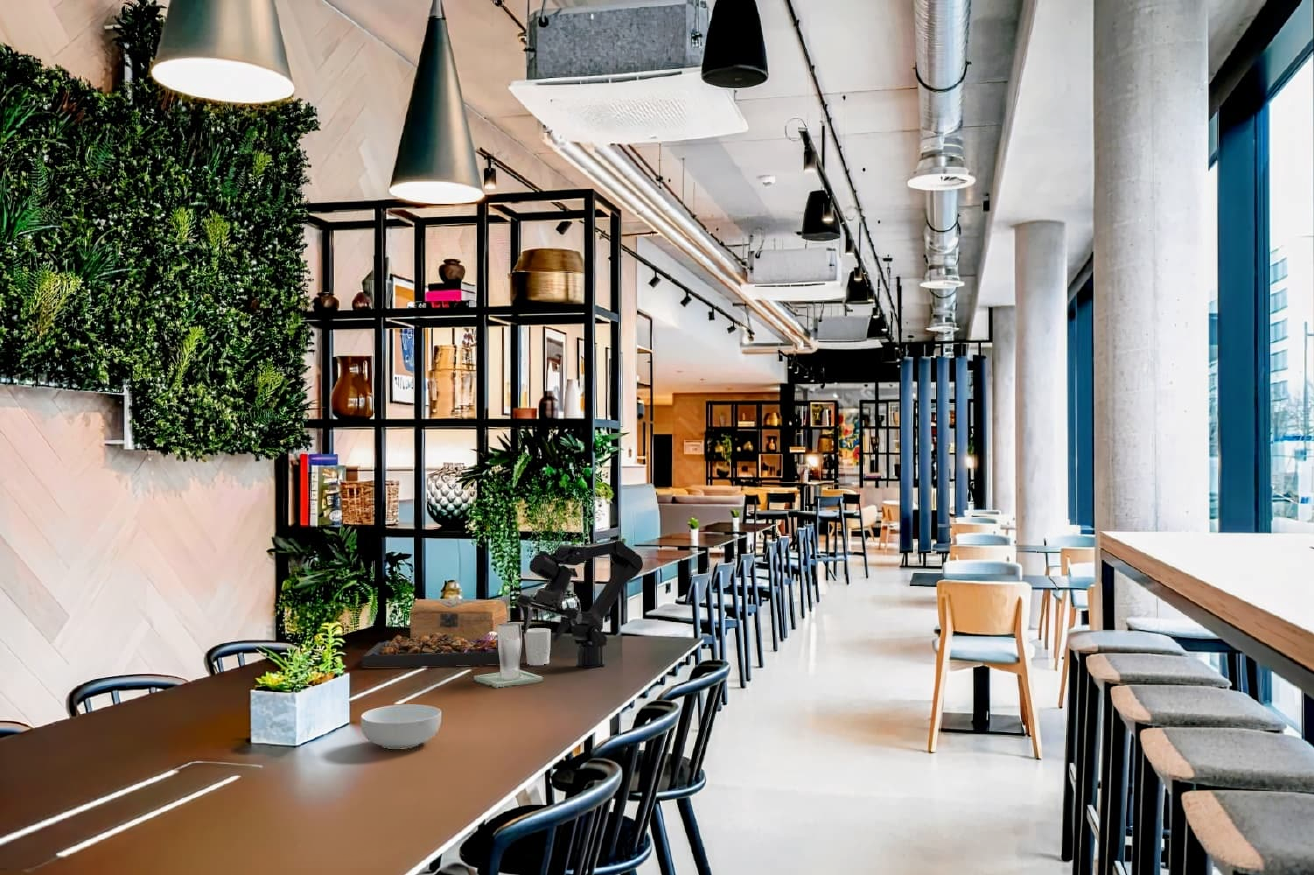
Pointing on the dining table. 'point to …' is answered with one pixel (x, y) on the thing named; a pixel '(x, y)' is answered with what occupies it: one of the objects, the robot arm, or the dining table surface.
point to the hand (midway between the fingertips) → (539, 637)
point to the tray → (496, 682)
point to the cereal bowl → (400, 725)
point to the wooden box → (456, 617)
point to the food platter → (433, 651)
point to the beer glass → (509, 650)
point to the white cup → (537, 646)
